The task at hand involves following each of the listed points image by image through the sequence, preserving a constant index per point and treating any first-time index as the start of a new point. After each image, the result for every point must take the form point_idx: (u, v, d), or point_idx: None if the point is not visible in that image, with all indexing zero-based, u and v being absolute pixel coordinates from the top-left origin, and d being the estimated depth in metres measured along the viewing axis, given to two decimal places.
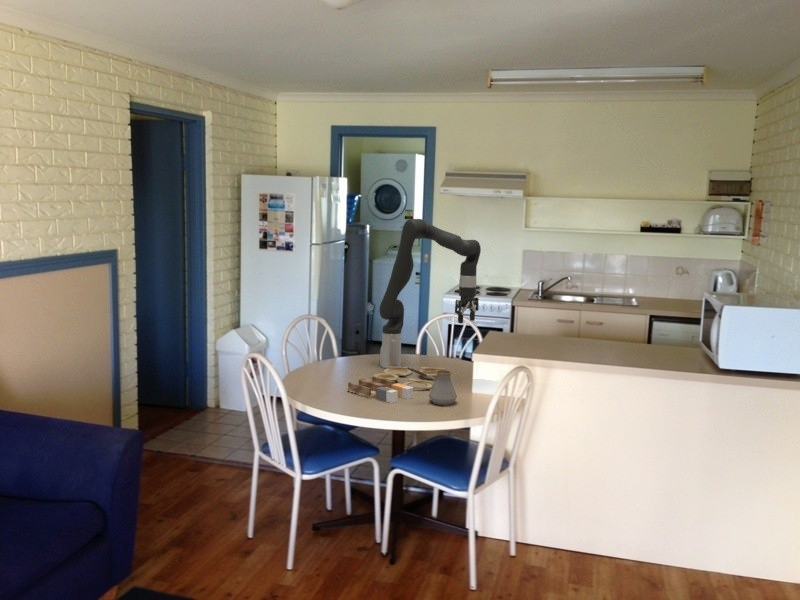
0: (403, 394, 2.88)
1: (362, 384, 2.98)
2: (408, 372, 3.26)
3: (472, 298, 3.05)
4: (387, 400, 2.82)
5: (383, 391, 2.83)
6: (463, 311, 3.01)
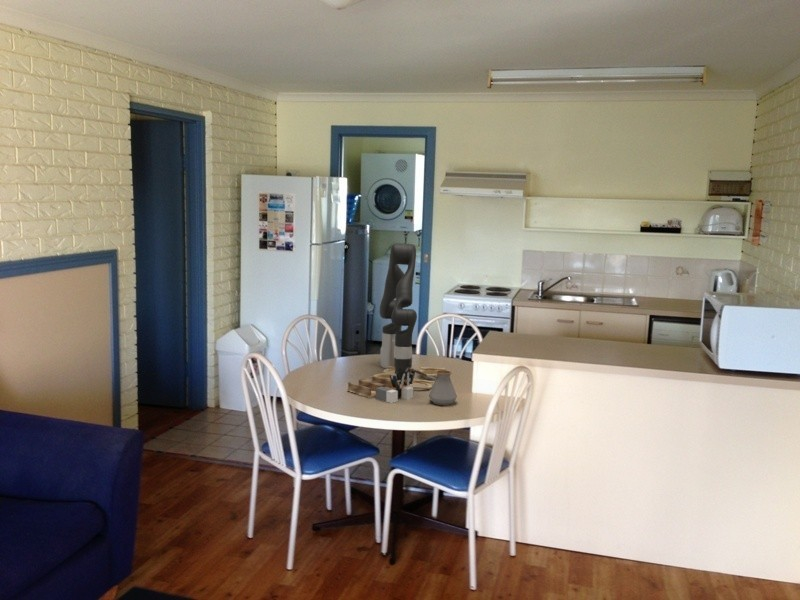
0: (403, 394, 2.88)
1: (362, 384, 2.98)
2: None
3: None
4: (387, 400, 2.82)
5: (383, 391, 2.83)
6: (400, 385, 2.88)
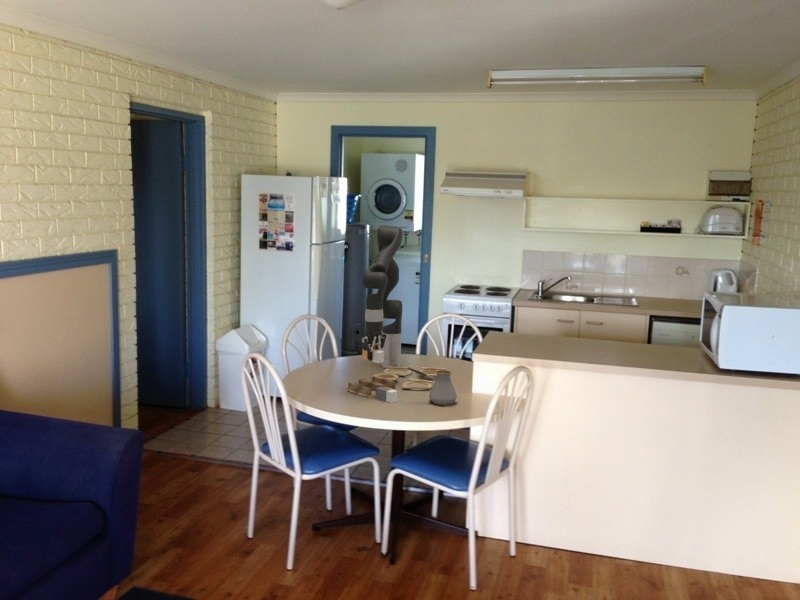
0: (374, 358, 2.88)
1: (362, 384, 2.98)
2: (408, 372, 3.26)
3: (380, 332, 2.91)
4: (387, 400, 2.82)
5: (383, 391, 2.83)
6: (372, 348, 2.88)
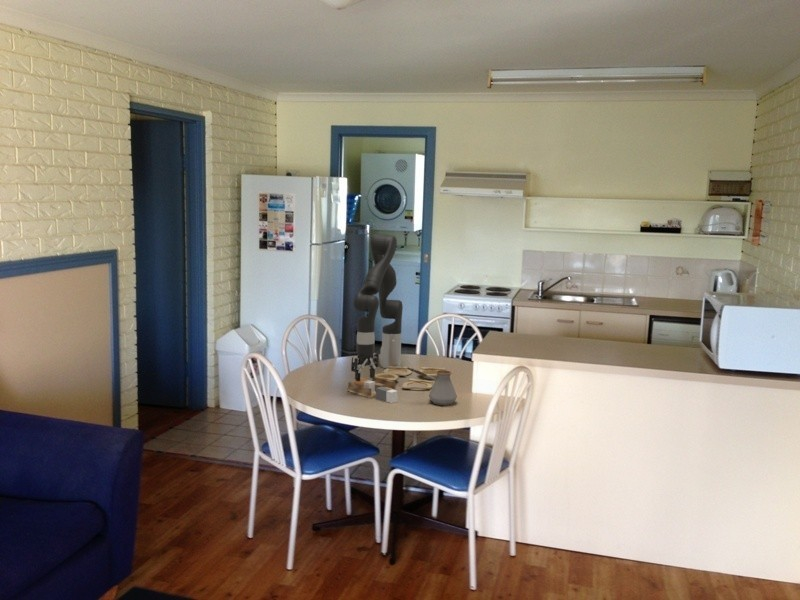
0: None
1: None
2: (408, 372, 3.26)
3: (371, 355, 2.93)
4: (387, 400, 2.82)
5: (383, 391, 2.83)
6: (360, 369, 2.89)
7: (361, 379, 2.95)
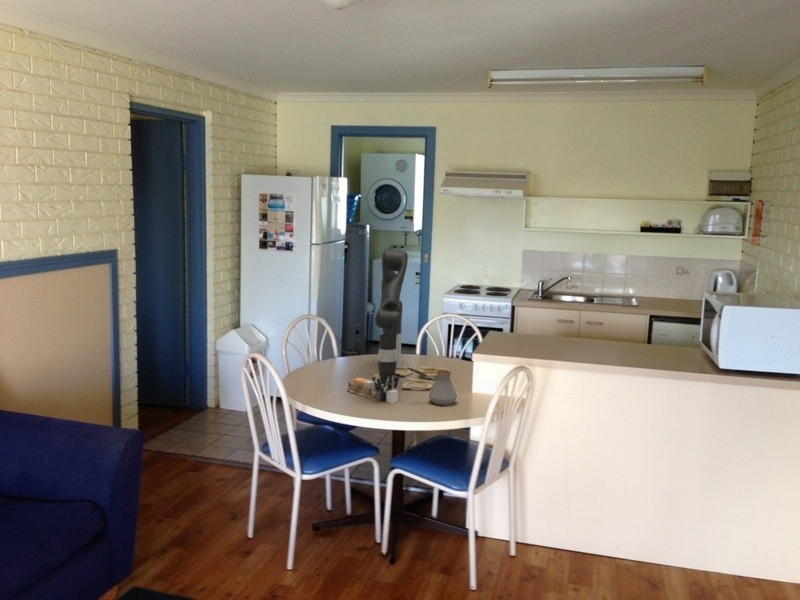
0: None
1: None
2: (408, 372, 3.26)
3: (393, 371, 2.85)
4: (387, 400, 2.82)
5: None
6: (385, 388, 2.82)
7: (361, 379, 2.95)
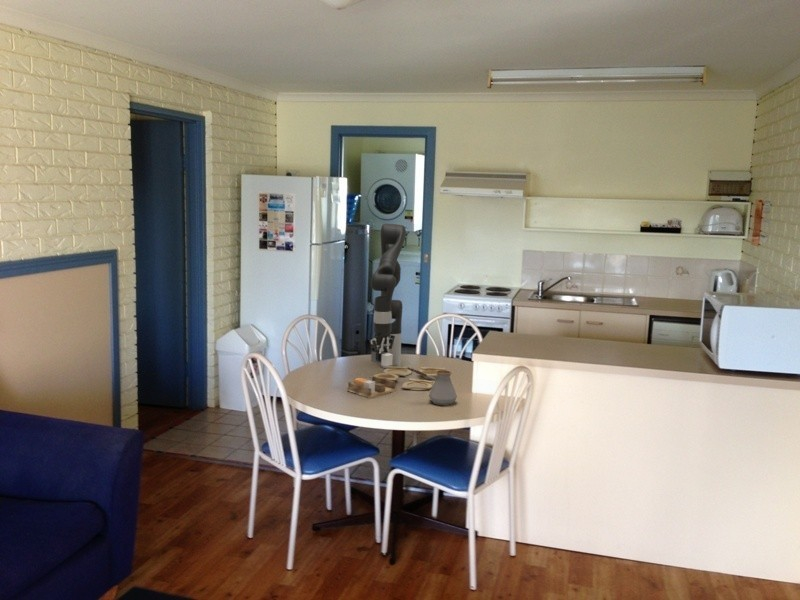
0: None
1: None
2: (408, 372, 3.26)
3: (388, 333, 2.94)
4: (382, 363, 2.92)
5: None
6: (380, 349, 2.91)
7: (361, 379, 2.95)
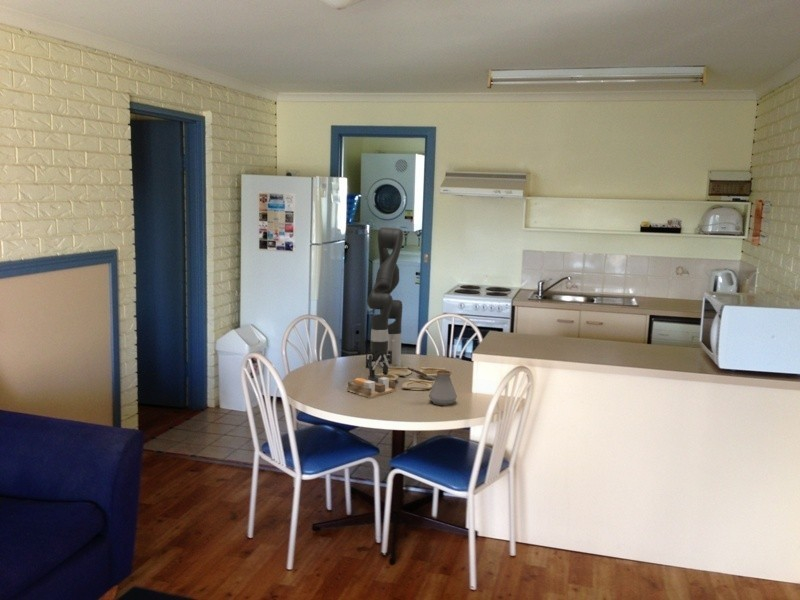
0: None
1: None
2: (408, 372, 3.26)
3: (384, 351, 2.99)
4: None
5: (375, 378, 2.98)
6: (374, 366, 2.95)
7: (361, 379, 2.95)
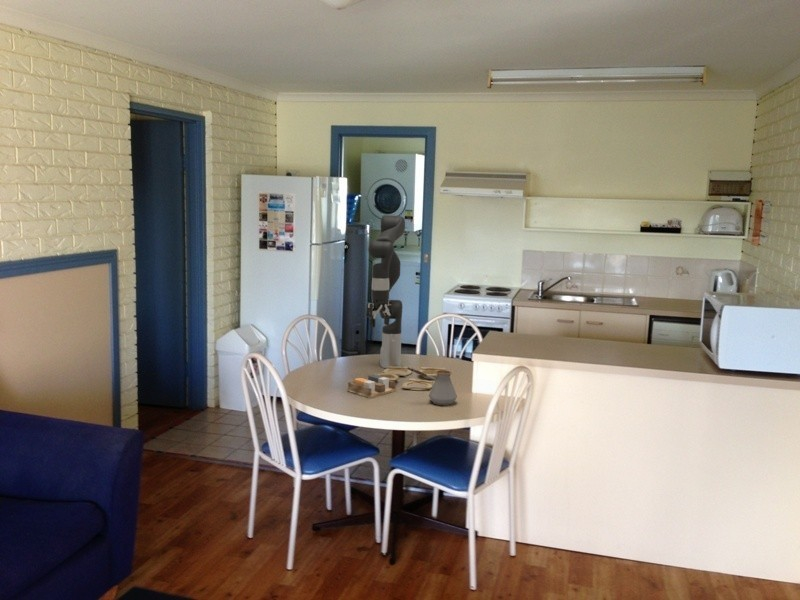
0: None
1: None
2: (408, 372, 3.26)
3: (385, 301, 2.95)
4: None
5: (375, 378, 2.98)
6: (375, 315, 2.91)
7: (361, 379, 2.95)
